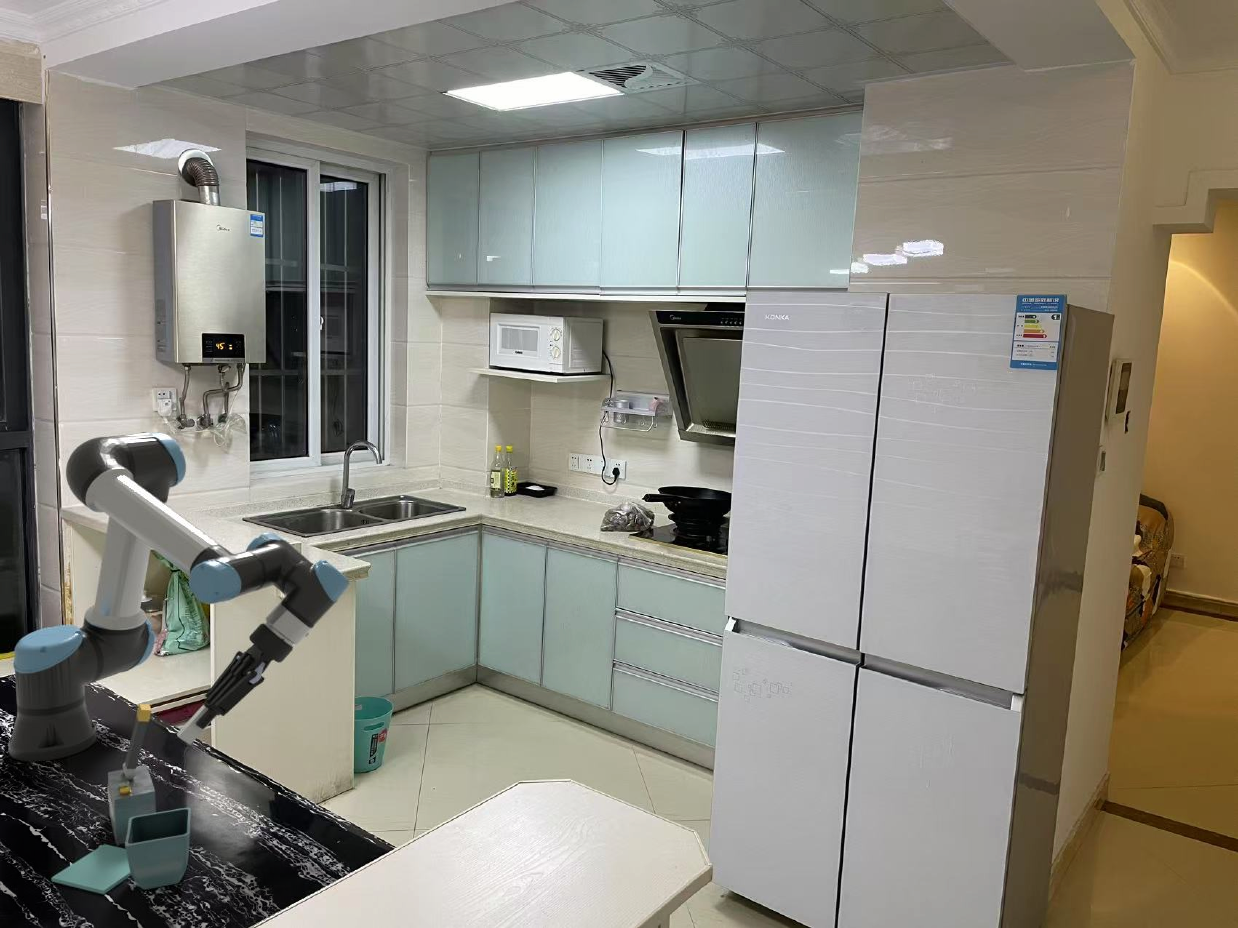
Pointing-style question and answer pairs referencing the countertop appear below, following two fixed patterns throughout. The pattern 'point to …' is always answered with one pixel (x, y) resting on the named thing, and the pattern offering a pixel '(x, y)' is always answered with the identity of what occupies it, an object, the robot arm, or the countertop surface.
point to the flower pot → (158, 847)
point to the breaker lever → (136, 740)
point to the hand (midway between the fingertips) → (183, 739)
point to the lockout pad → (97, 870)
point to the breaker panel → (129, 799)
